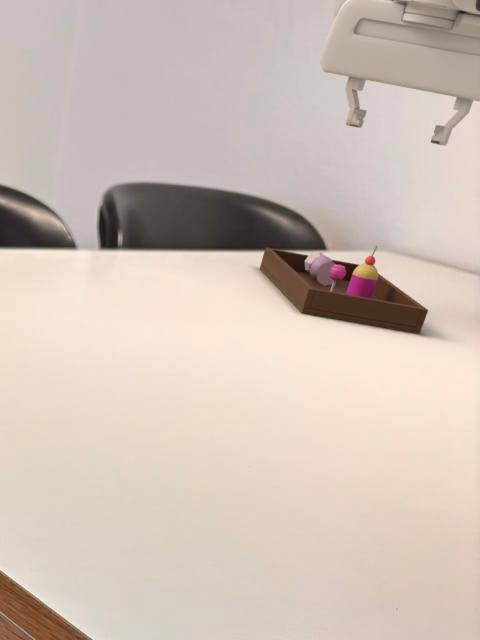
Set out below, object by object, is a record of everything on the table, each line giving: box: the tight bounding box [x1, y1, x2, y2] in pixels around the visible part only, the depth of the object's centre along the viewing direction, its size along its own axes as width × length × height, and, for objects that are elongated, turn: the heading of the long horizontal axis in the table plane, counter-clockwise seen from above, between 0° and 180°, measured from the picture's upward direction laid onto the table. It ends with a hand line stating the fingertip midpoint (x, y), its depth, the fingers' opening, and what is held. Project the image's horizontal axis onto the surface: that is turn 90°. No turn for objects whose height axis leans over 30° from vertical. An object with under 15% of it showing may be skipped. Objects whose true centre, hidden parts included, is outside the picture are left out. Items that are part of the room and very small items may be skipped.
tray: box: [259, 247, 429, 334], centre depth 124 cm, size 13×21×3 cm, turn 0°
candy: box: [305, 245, 379, 298], centre depth 123 cm, size 18×8×6 cm, turn 0°
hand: (395, 135), depth 117 cm, fingers open, 8 cm apart
